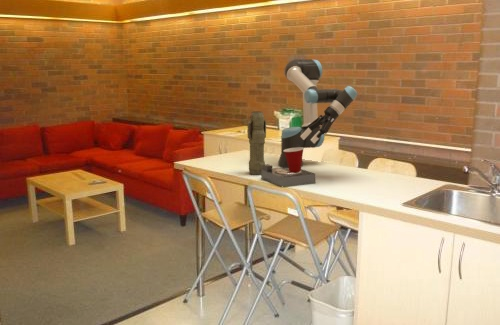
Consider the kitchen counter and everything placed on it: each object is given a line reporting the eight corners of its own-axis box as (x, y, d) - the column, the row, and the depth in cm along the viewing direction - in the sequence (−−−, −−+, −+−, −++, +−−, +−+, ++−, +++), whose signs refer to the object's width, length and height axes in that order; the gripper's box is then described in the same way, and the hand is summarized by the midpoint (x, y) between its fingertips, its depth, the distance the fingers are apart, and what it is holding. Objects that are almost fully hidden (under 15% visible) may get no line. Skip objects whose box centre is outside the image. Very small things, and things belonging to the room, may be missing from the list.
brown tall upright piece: (243, 173, 275) (243, 111, 269) (258, 170, 283) (258, 110, 277) (254, 176, 269) (254, 112, 262) (269, 173, 277) (270, 111, 270)
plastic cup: (281, 171, 257) (279, 148, 256) (299, 168, 261) (298, 146, 259) (289, 173, 247) (288, 150, 246) (308, 171, 251) (307, 148, 249)
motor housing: (261, 178, 263) (261, 164, 261) (292, 175, 272) (293, 161, 270) (282, 187, 244) (282, 171, 242) (315, 183, 253) (315, 168, 251)
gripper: (349, 117, 248) (321, 148, 246) (327, 113, 271) (302, 141, 270) (340, 107, 245) (312, 138, 244) (319, 104, 269) (293, 132, 267)
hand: (307, 140), depth 257 cm, fingers open, 13 cm apart
